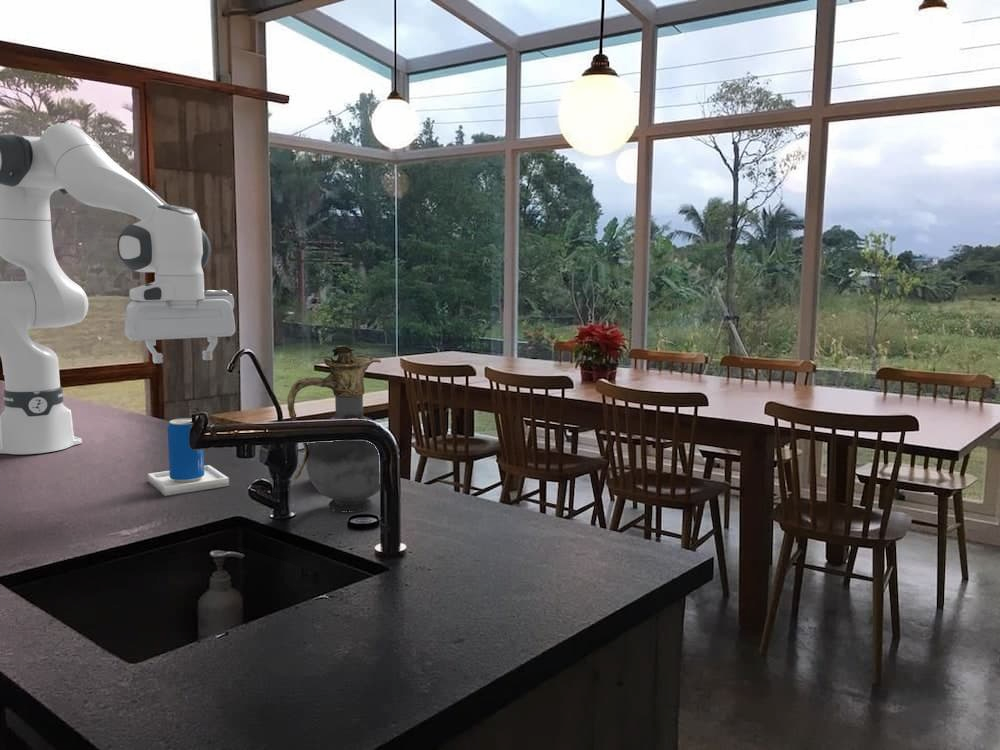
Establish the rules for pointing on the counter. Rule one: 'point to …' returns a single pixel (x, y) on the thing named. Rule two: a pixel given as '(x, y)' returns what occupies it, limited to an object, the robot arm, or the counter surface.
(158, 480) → the tray
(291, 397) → the pitcher
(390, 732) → the counter surface
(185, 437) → the beverage can
